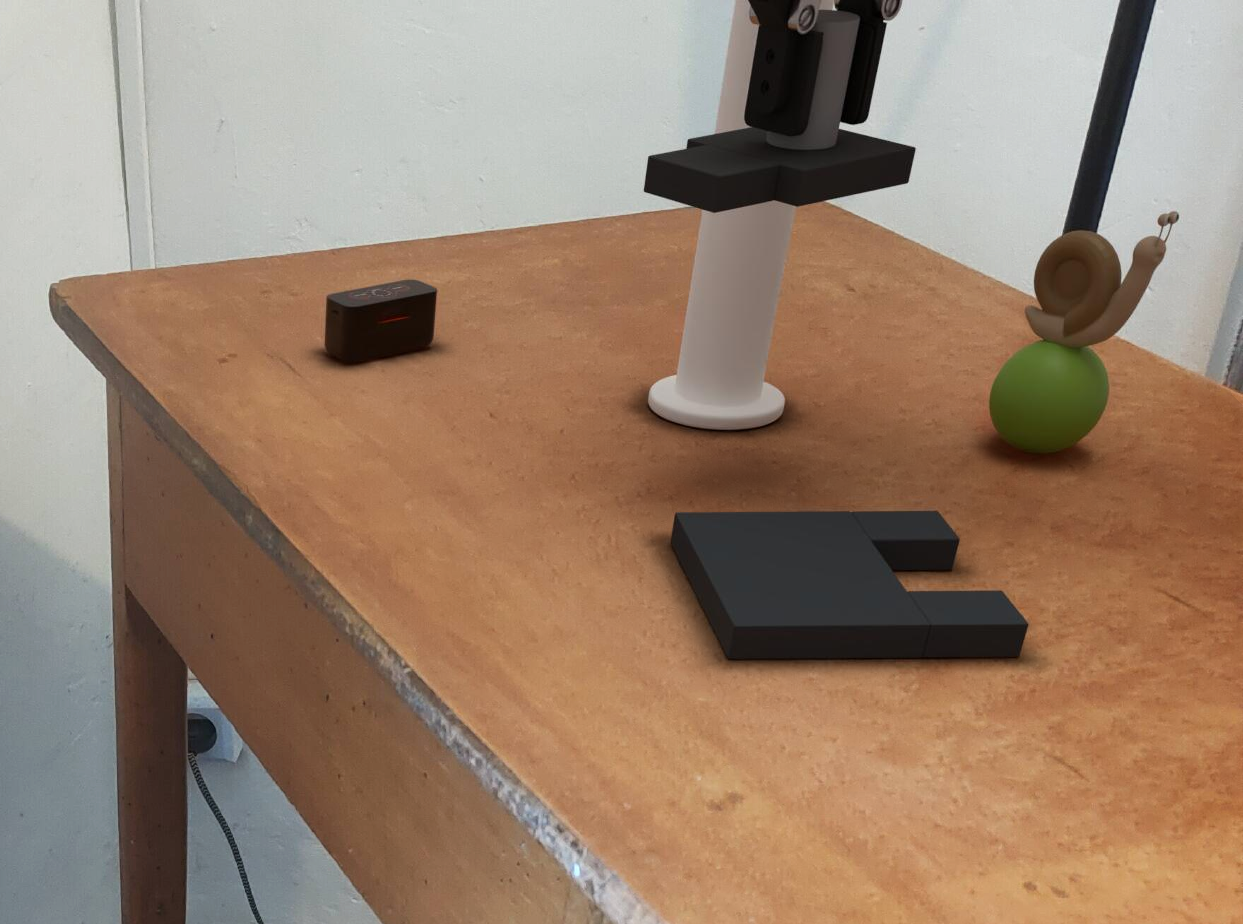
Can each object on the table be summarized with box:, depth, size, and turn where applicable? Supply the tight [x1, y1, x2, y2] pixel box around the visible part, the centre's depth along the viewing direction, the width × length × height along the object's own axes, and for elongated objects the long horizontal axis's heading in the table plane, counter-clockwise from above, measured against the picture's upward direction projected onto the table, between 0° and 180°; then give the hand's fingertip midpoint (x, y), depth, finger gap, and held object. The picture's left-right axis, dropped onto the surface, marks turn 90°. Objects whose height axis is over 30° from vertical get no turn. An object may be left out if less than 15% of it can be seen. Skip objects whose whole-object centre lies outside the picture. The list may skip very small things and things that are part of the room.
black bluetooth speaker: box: [323, 279, 438, 364], centre depth 109 cm, size 5×7×3 cm, turn 119°
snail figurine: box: [988, 210, 1180, 454], centre depth 92 cm, size 5×6×12 cm
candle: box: [647, 0, 834, 431], centre depth 93 cm, size 7×7×25 cm
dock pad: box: [669, 510, 1029, 660], centre depth 82 cm, size 12×12×2 cm
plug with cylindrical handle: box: [643, 9, 917, 213], centre depth 82 cm, size 11×7×6 cm, turn 122°
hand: (805, 120), depth 83 cm, fingers closed on plug with cylindrical handle, 3 cm apart
